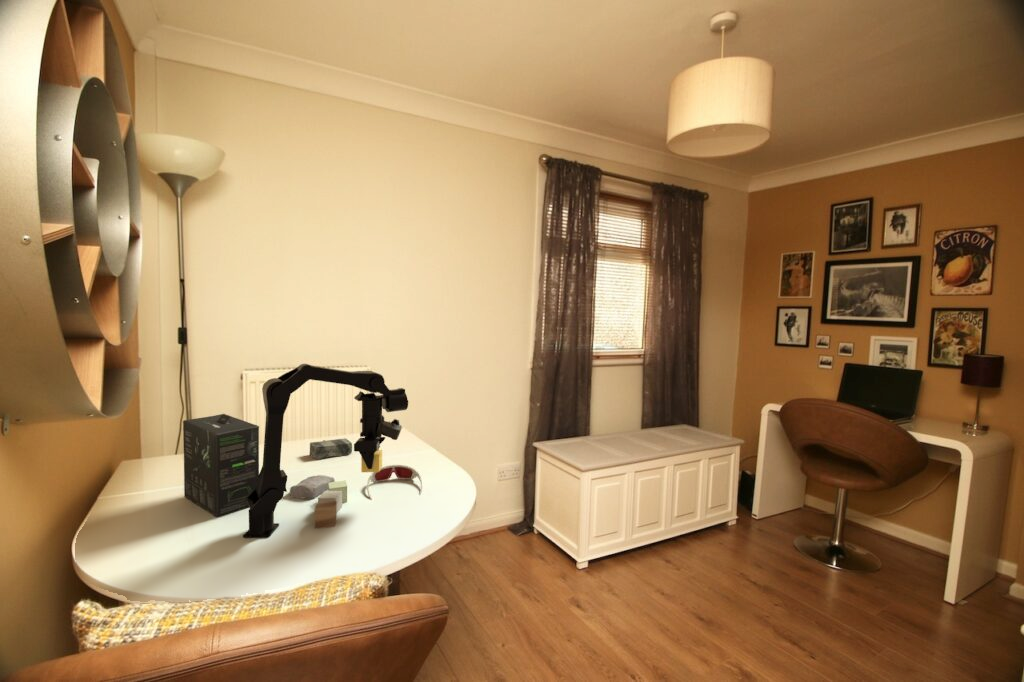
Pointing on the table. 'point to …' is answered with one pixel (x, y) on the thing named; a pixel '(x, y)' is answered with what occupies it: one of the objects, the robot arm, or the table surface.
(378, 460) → the mustard cube
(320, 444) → the stone block
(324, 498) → the grey cube
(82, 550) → the table surface
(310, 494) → the stone block
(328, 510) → the walnut cube
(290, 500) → the table surface
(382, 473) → the sunglasses
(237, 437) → the headset box
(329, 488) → the sage cube
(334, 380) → the robot arm
